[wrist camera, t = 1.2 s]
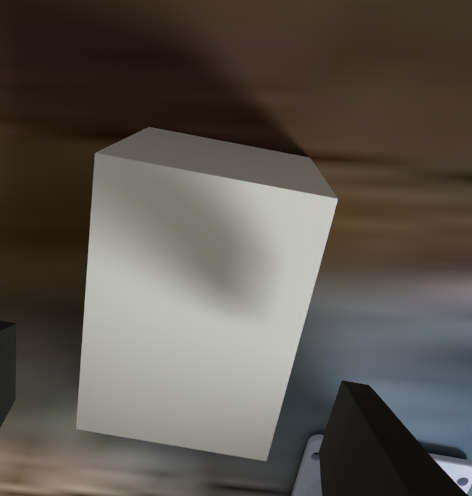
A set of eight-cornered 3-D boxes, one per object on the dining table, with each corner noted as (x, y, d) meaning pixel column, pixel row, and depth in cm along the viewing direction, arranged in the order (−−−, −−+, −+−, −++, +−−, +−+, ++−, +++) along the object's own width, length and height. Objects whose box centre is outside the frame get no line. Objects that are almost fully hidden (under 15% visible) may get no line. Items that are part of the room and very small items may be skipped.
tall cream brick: (262, 351, 20) (266, 461, 14) (127, 327, 20) (76, 429, 14) (309, 157, 17) (338, 199, 11) (149, 126, 16) (94, 152, 11)
